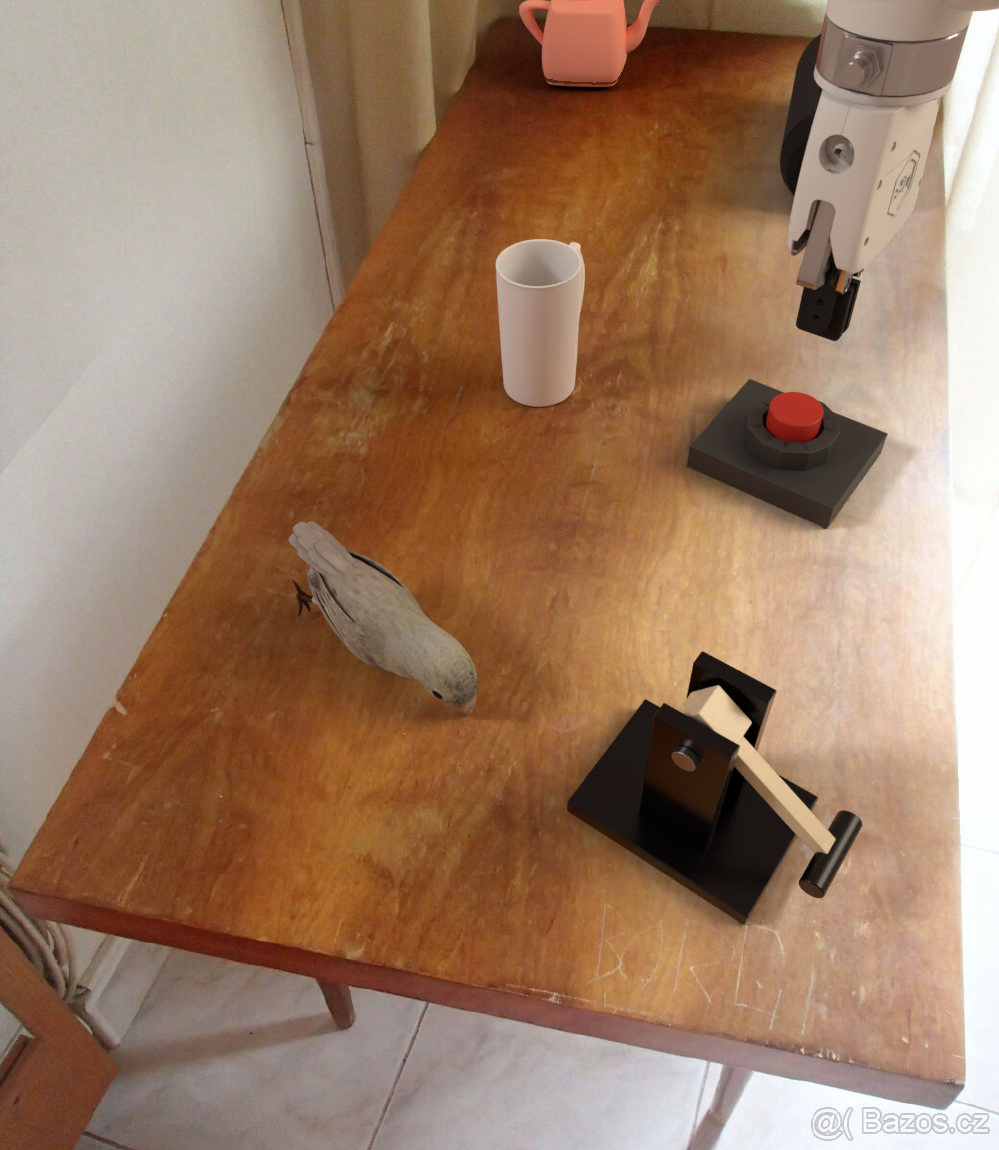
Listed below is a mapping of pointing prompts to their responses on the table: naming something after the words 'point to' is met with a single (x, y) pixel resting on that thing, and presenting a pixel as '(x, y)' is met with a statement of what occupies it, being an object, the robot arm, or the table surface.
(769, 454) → the control block
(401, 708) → the table surface
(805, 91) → the portable speaker
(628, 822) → the lever stand
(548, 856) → the table surface
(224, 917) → the table surface
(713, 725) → the lever handle
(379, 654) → the decorative bird
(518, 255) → the mug
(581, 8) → the teapot
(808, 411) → the red button
